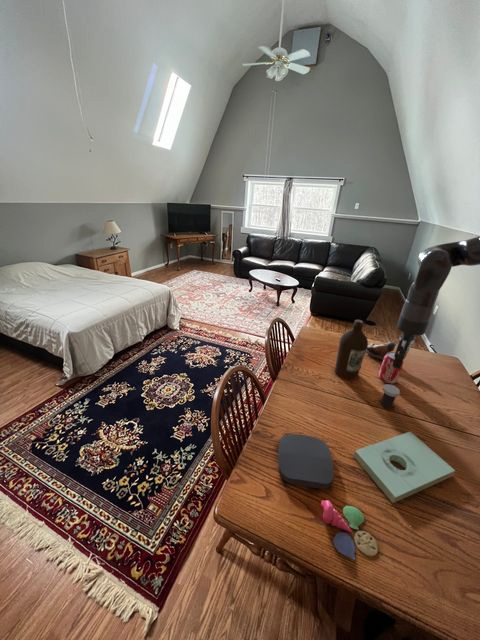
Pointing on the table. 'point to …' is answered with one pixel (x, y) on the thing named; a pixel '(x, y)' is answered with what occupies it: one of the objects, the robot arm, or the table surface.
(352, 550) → the toy pieces
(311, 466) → the media streaming box
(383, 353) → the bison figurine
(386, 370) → the soda can
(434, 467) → the plate
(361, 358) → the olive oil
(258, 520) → the table surface
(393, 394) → the stopper
